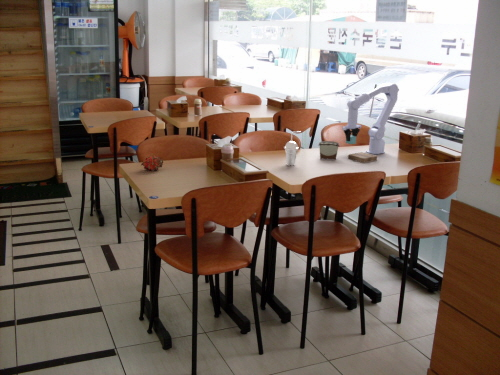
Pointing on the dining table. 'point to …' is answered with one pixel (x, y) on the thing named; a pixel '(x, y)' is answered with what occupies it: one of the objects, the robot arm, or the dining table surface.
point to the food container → (328, 150)
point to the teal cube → (352, 140)
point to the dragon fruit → (152, 163)
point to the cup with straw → (291, 151)
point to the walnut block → (362, 157)
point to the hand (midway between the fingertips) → (350, 140)
